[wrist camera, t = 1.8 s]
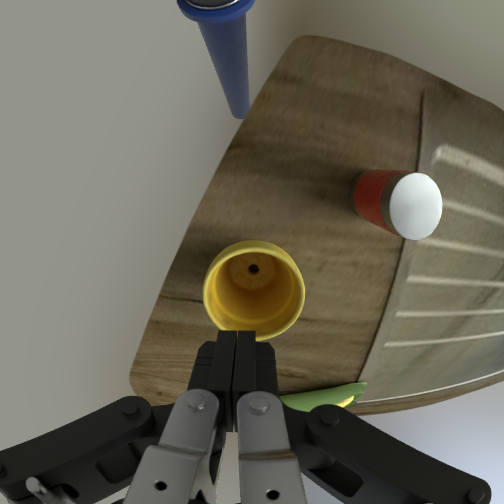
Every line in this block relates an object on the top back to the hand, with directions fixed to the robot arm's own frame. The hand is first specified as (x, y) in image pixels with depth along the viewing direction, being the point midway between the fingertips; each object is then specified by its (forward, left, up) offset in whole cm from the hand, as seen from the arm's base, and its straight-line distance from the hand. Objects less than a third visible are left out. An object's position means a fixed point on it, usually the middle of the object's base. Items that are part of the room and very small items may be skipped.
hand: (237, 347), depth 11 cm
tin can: (+12, +12, -25) cm, 30 cm away
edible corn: (+24, -20, -25) cm, 40 cm away
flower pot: (+3, -4, -25) cm, 26 cm away
